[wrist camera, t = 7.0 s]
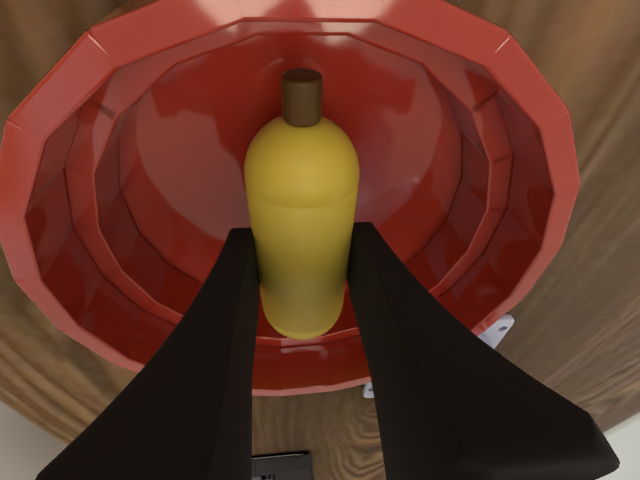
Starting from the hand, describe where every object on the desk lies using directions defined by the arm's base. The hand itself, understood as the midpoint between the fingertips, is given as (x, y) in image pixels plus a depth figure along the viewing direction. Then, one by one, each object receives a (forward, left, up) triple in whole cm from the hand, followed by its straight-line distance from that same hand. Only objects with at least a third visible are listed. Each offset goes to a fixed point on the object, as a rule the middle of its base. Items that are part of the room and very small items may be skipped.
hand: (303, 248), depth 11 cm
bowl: (0, 0, -3) cm, 3 cm away
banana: (0, 0, -2) cm, 2 cm away
